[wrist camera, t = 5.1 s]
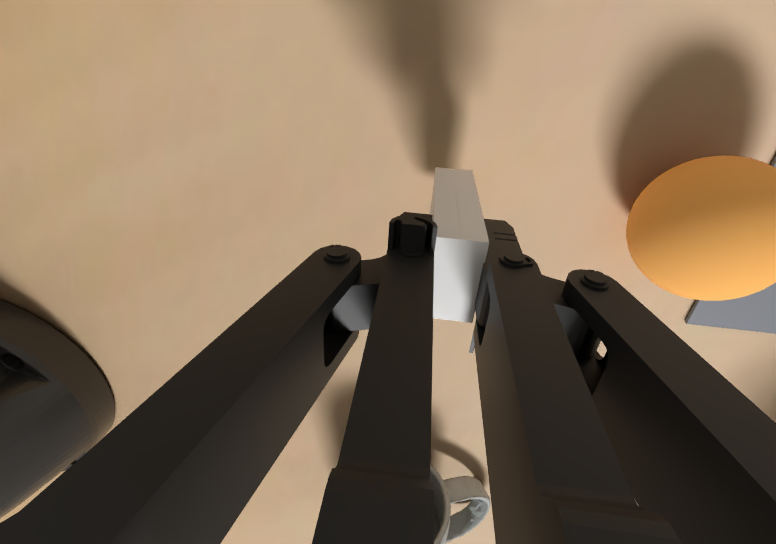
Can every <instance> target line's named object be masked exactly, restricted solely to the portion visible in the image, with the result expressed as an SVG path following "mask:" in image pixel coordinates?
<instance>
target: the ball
mask: <svg viewBox="0 0 776 544" xmlns="http://www.w3.org/2000/svg"><path fill="white" fill-rule="evenodd" d="M626 238H627V244H628V249H629V251H630V254H631V257H632V259H633V260H634V262H635V264H636V265H637V267H638V268H639V269H640V271H641V272H642V273H643V274H644V275H645V276H646V277H647V278H648V279H649V280H650V281H652V282H653V283H655V284H656V285H657V286H659V287H661V288H662V289H664V290H666V291H668V292H670V293H673V294H676V295H679V296H682V297H686V298H690V299H695V300H704V301H722V300H730V299H736V298H740V297H744V296H748V295H751V294H754V293H756V292H759V291H761V290H763V289H765V288H767V287H769V286H771V285H772V284H774V283H776V168H775V167H773V166H771V165H769V164H767V163H764V162H761V161H758V160H755V159H752V158H746V157H740V156H727V155H721V156H709V157H704V158H698V159H694V160H691V161H688V162H685V163H682V164H680V165H677V166H675V167H673V168H671V169H669V170H668V171H666V172H664V173H663V174H661V175H660V176H658V177H657V178H656V179H654V180H653V181H652V182H651V183H650V184H649V185H648V186H647V187H646V188H645V189H644V190H643V191H642V192H641V194H640V195H639V196H638V198H637V199H636V201H635V203H634V204H633V207H632V209H631V211H630V214H629V217H628V221H627V229H626Z"/></svg>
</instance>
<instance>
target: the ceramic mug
mask: <svg viewBox="0 0 776 544" xmlns="http://www.w3.org/2000/svg"><path fill="white" fill-rule="evenodd" d="M430 479H431V481H432V482H433V486H434V544H445V543H447V542H450V541H452V540H453V539H456V538H458V537H461V536H463V535H464V534H466V533H468V532H470V531H471V530H472V529H473V528H475V527H476V526H477V525H478V524H479V523H480V522H481V521H482V520H483V519H484V518H485V516H486V515H487V513H488V511H489V508H490V498H489V496H488V494H487V492H486V491H485V489H484V487H483V485H482V484H481V482H480V481H479V480H478V479H476V478H474V477H470V476H461V477H455V478H450V479H446V480H442V478H441V476H440V475H439V473H438V472H437V471H436V470H435V468H434V467H433V466H432V465H430ZM468 499H472V500H471V502H470V503H469V504H468V505H467V506H466V507H465V508H464V509H463V510H461V511H460V512H457V513H455V514H453V515H452V516H451V504H453V503H456V502H460V501H465V500H468Z"/></svg>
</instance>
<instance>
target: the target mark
mask: <svg viewBox="0 0 776 544" xmlns="http://www.w3.org/2000/svg"><path fill="white" fill-rule="evenodd" d="M771 166H773V167H775V168H776V156H775V158H774V159H773V161H772V163H771ZM685 322H686V324H693V325H702V326H712V327H721V328H730V329H739V330H748V331H757V332H766V333H775V334H776V283H774V284H772V285H771V286H769V287H767V288H765V289H763V290H761V291H759V292H756V293H754V294H751V295H748V296H744V297H740V298H736V299H730V300H722V301H704V300H696V301H695V303H694V305H693V307H692V309H691V311H690V312H689V314H688V316H687V318H686V320H685Z"/></svg>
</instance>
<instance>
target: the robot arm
mask: <svg viewBox="0 0 776 544" xmlns="http://www.w3.org/2000/svg"><path fill="white" fill-rule="evenodd" d="M517 241H518V240H517V237H516V236H515V232H514V229H513V227H512V226H510V225H509V224H508V223H507V222H506V221H502V220H491V219H484V218H483V214H482V209H481V205H480V201H479V196H478V192H477V188H476V184H475V179H474V175H473V171H472V170H461V169H450V168H439V167H436V168H435V177H434V185H433V193H432V201H431V209H430V215H429V214H419V213H409V212H404V213H403V214H401V215H400V216H397V217H395V218H393V219H392V220H391V221H390V222H389V237H388V250H387V254H386V255H385V256H383V257H380V258H377V259H371V260H361V255H360V253H359V252H358V251H356V250H355V249H353V248H350V247H347V246H341V245H335V246H334V245H330V246H327V247H323V248H320V249H318V250H317V251H315V252H314V253H313V254H312V255H310V256H309V257H308V258H307V259H306V260H305V261H304V262H303V263H301V264H300V265H299V266H298V267H297V268H296V269H295V270H293V271H292V272H291V273H290V274H289V275H288V276H287V277H285V278H284V279H283V280H282V281H281V282H280V283H279V284H278V285H276V286H275V287H274V288H273V289H272V290H271V291H270V292H268V293H267V294H266V295H265V296H264V297H263V298H262V299H260V300H259V301H258V302H257V303H256V304H255V305H254V306H253V307H251V308H250V309H249V310H248V311H247V312H246V313H245V314H243V315H242V316H241V317H240V318H239V319H238V320H237V321H235V322H234V323H233V324H232V325H231V326H230V327H229V328H228V329H226V330H225V331H224V332H223V333H222V334H221V335H220V336H218V337H217V338H216V339H215V340H214V341H213V342H212V343H210V344H209V345H208V346H207V347H206V348H205V349H204V350H203V351H201V352H200V353H199V354H198V355H197V356H196V357H195V358H193V359H192V360H191V361H190V362H189V363H188V364H187V365H185V366H184V367H183V368H182V369H181V370H180V371H179V372H177V373H176V374H175V375H174V376H173V377H172V378H171V379H170V380H168V381H167V382H166V383H165V384H164V385H163V386H162V387H160V388H159V389H158V390H157V391H156V392H155V393H154V394H152V395H151V396H150V397H149V398H148V399H147V400H146V401H145V402H143V403H142V404H141V405H140V406H139V407H138V408H137V409H135V410H134V411H133V412H132V413H131V414H130V415H129V416H127V417H126V418H125V419H124V420H123V421H122V422H121V423H120V424H118V425H117V426H116V427H115V428H114V429H113V430H112V431H110V432H109V433H108V434H107V435H106V433H107V432H108V431H109V430H110V428H111V426H112V424H113V422H114V418H115V404H114V400H113V396H112V393H111V391H110V388H109V386H108V384H107V382H106V381H105V379H104V377H103V376H102V374H101V373H100V371H99V370H98V369H97V367H96V366H95V365H94V364H93V362H92V361H91V360H90V359H89V358H88V357H87V356H86V355H85V354H84V353H83V352H82V351H81V350H80V349H79V348H78V347H77V346H76V345H75V344H74V343H73V342H71V341H70V340H69V339H68V338H67V337H65V336H64V335H63V334H61V333H60V332H59V331H57V330H56V329H54V328H53V327H52V326H50V325H49V324H47V323H45V322H44V321H42V320H41V319H39V318H37V317H35V316H34V315H32V314H30V313H28V312H26V311H24V310H22V309H20V308H18V307H16V306H14V305H11V304H9V303H7V302H4V301H1V300H0V518H1V517H3V516H4V515H6V514H7V513H8V512H10V511H11V510H12V509H14V508H15V507H17V506H18V505H19V504H21V503H22V502H23V501H25V500H26V499H27V498H28V497H30V496H31V495H32V494H34V493H35V492H36V491H37V490H39V489H40V488H41V487H42V486H44V485H45V484H46V483H48V482H49V481H50V480H51V479H53V478H54V477H55V476H56V475H58V474H59V473H60V472H61V471H65V470H66V471H65V472H64V473H63V474H62V475H60V476H59V477H58V478H57V479H56V480H55V481H54V482H52V483H51V484H50V485H49V486H48V487H47V488H46V489H45V490H43V491H42V492H41V493H40V494H39V495H38V496H37V497H35V498H34V499H33V500H32V501H31V502H30V503H29V504H27V505H26V506H25V507H24V508H23V509H22V510H21V511H19V512H18V513H16V514H14V515H13V516H11V517H10V518H8V519H6V520H5V521H3V522H1V523H0V544H220V543H221V542H222V540H223V539H224V537H225V536H226V534H227V533H228V531H229V530H230V528H231V527H232V525H233V524H234V522H235V521H236V519H237V518H238V516H239V515H240V513H241V512H242V510H243V509H244V507H245V506H246V504H247V503H248V501H249V500H250V498H251V497H252V495H253V494H254V492H255V491H256V489H257V488H258V486H259V485H260V483H261V482H262V480H263V479H264V477H265V476H266V474H267V473H268V471H269V470H270V468H271V467H272V465H273V464H274V462H275V461H276V459H277V458H278V456H279V455H280V453H281V452H282V450H283V449H284V447H285V446H286V444H287V443H288V441H289V440H290V438H291V437H292V435H293V434H294V432H295V431H296V429H297V428H298V426H299V425H300V423H301V422H302V420H303V419H304V417H305V416H306V414H307V413H308V411H309V410H310V408H311V407H312V405H313V404H314V402H315V401H316V399H317V398H318V396H319V395H320V393H321V392H322V390H323V389H324V387H325V386H326V384H327V383H328V381H329V380H330V378H331V377H332V375H333V374H334V372H335V371H336V369H337V368H338V366H339V365H340V363H341V362H342V360H343V359H344V357H345V356H346V354H347V353H348V351H349V350H350V348H351V347H352V345H353V344H354V342H355V341H356V339H357V337H358V334H359V330H365V329H369V332H368V336H367V340H366V345H365V349H364V353H363V358H362V362H361V366H360V370H359V375H358V379H357V383H356V388H355V392H354V396H353V401H352V405H351V409H350V414H349V418H348V422H347V426H346V431H345V435H344V439H343V444H342V448H341V452H340V457H339V460H338V464H337V466H336V468H332V471H331V473H330V475H329V478H328V482H327V485H326V489H325V493H324V497H323V501H322V505H321V509H320V513H319V517H318V521H317V525H316V529H315V533H314V537H313V541H312V544H434V486H433V482H432V481H431V479H430V452H431V398H432V345H433V318H436V319H445V320H453V321H462V322H471V323H472V322H473V317H474V312H475V311H476V323H475V327H474V332H473V337H472V341H471V346H470V351H469V353H473V351H474V348H475V353H476V362H477V371H478V381H479V390H480V400H481V409H482V418H483V428H484V437H485V446H486V456H487V465H488V474H489V484H490V493H491V502H492V512H493V521H494V530H495V540H496V544H776V423H775V422H774V421H773V420H771V419H770V418H769V417H768V416H767V415H766V414H765V413H764V412H762V411H761V410H760V409H759V408H758V407H757V406H756V405H755V404H754V403H752V402H751V401H750V400H749V399H748V398H747V397H746V396H745V395H743V394H742V393H741V392H740V391H739V390H738V389H737V388H736V387H734V386H733V385H732V384H731V383H730V382H729V381H728V380H727V379H725V378H724V377H723V376H722V375H721V374H720V373H719V372H718V371H717V370H715V369H714V368H713V367H712V366H711V365H710V364H709V363H708V362H706V361H705V360H704V359H703V358H702V357H701V356H700V355H699V354H697V353H696V352H695V351H694V350H693V349H692V348H691V347H690V346H689V345H687V344H686V343H685V342H684V341H683V340H682V339H681V338H680V337H678V336H677V335H676V334H675V333H674V332H673V331H672V330H671V329H669V328H668V327H667V326H666V325H665V324H664V323H663V322H662V321H660V320H659V319H658V318H657V317H656V316H655V315H654V314H653V313H652V312H650V311H649V310H648V309H647V308H646V307H645V306H644V305H643V304H641V303H640V302H639V301H638V300H637V299H636V298H635V297H634V296H632V295H631V294H630V293H629V292H628V291H627V290H626V289H625V288H623V287H622V286H621V285H620V284H619V283H618V282H617V281H615V280H614V279H612V278H611V277H609V276H607V275H604V274H603V273H601V272H598V271H596V272H595V271H594V270H581V269H580V270H573V271H572V272H570V273H568V276H567V279H566V282H564V281H560V280H557V279H553V278H550V277H547V276H544V275H541V272H540V270H539V267H538V265H537V263H536V262H535V261H534V260H533V259H532V258H530V257H529V256H527V255H524V254H523V253H522V251H521V248H520V245H519V243H518V242H517ZM600 341H602V342H603V343H604V345H605V347H606V349H607V352H606V354H605V356H604V357H602V356H600V354H599V353H598V352H597V348H598V346H599V344H600ZM105 435H106V436H105ZM104 436H105V437H104ZM103 437H104V438H103ZM635 500H636V501H635ZM636 502H637V503H636ZM637 504H638V505H639V506H638V505H637Z"/></svg>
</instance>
